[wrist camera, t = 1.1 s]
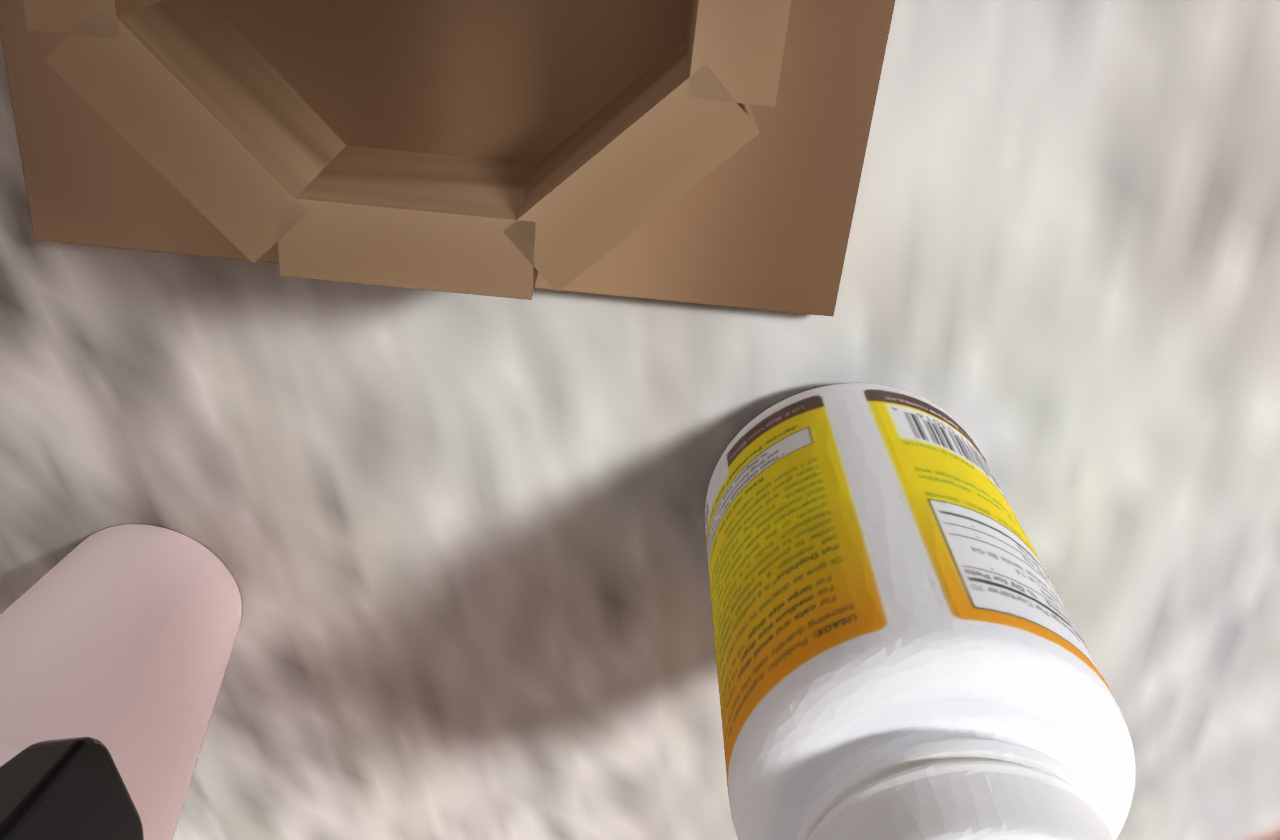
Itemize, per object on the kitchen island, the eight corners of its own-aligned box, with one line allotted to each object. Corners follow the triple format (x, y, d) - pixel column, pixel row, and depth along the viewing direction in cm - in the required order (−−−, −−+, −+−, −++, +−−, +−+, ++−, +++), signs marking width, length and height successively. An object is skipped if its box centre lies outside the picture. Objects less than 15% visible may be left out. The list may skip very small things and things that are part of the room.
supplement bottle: (703, 609, 23) (735, 1097, 14) (702, 372, 21) (742, 788, 12) (967, 604, 23) (1167, 1093, 14) (1000, 366, 21) (1271, 780, 12)
